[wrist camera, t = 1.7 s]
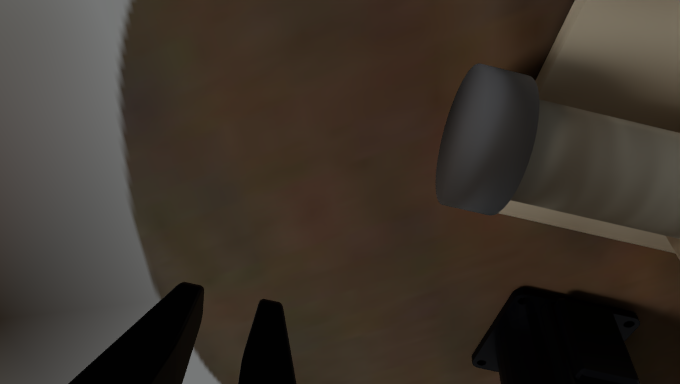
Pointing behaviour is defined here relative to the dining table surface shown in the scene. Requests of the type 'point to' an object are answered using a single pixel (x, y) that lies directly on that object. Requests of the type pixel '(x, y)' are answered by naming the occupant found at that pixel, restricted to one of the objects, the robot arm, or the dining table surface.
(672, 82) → the bench
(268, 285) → the dining table surface
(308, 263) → the dining table surface
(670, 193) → the shaft
